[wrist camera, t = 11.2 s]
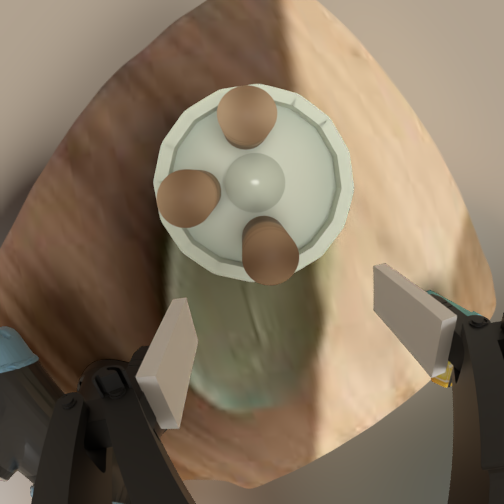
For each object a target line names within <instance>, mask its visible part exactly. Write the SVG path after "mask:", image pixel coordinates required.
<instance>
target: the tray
mask: <svg viewBox="0 0 504 504" xmlns="http://www.w3.org/2000/svg"><path fill="white" fill-rule="evenodd" d="M249 86H255V87H258V88H261V89H263V90H264V91H266V92H267V93H268V94H269V95H270V96H271V97H272V98H273V100H274V102H275V104H276V107H277V120H276V123H275V125H274V127H273V129H272V130H271V131H270V133H269V134H268V136H267V137H266V138H265V140H264V141H263V142H262V143H261V144H260V145H259V146H257V147H255V148H253V149H247V150H243V149H239V148H236V147H234V146H232V145H231V144H230V143H229V142H228V141H227V140H226V138H225V136H224V134H223V131H222V129H221V127H220V125H219V122H218V119H217V108H218V105H219V102H220V100H221V99H222V97H223V96H224V95H225V94H226V93H227V92H228V91H230V90H231V89H233V88H236V87H232V88H226V89H220V91H219V90H218V91H216V92H214V93H213V94H211V95H209V96H208V97H206V98H204V99H203V100H201V101H199V102H198V103H196V104H194V105H193V106H191V107H190V108H188V109H187V110H185V111H186V112H185V111H184V112H183V114H182V115H181V116H180V118H179V119H178V120H177V122H176V123H175V125H174V126H173V127H172V129H171V130H170V132H169V133H168V135H167V136H166V137H165V139H164V140H163V142H162V144H161V148H160V152H159V157H158V161H157V166H156V171H155V175H154V181H153V184H154V189H155V195H156V200H157V192H158V189H159V186H160V184H161V183H162V181H163V180H164V179H165V178H166V177H167V176H168V175H169V174H171V173H173V172H175V171H178V170H183V169H190V170H204V171H207V172H210V173H211V174H213V175H214V176H215V177H216V178H217V180H218V181H219V183H220V186H221V198H220V200H219V203H218V204H217V206H216V207H215V208H214V210H213V211H212V212H211V214H210V215H209V216H208V217H207V219H206V220H205V221H204V222H202V223H201V224H199V225H197V226H195V227H191V228H180V227H176V226H174V225H172V224H170V223H169V222H167V221H166V220H165V219H164V218H163V216H162V215H161V213H160V211H159V215H160V220H161V222H162V223H163V225H164V226H165V228H166V229H167V231H168V232H169V234H170V235H171V237H172V238H173V240H174V241H175V243H176V244H177V246H178V247H179V249H180V250H181V252H183V254H185V255H186V256H188V257H189V258H191V259H192V260H194V261H195V262H197V263H198V264H199V265H201V266H202V267H204V268H205V269H207V270H208V271H210V272H211V273H213V274H214V273H215V274H216V275H220V276H225V277H229V278H234V279H239V280H243V281H248V282H251V281H252V282H255V281H254V280H253V279H251V278H250V277H249V276H248V274H247V273H246V271H245V269H244V267H243V263H242V232H243V229H244V227H245V226H246V224H247V223H248V222H249V221H250V220H252V219H253V218H255V217H258V216H270V217H273V218H275V219H276V220H278V221H279V222H280V223H281V225H282V226H283V227H284V229H285V230H286V231H287V233H288V234H289V235H290V237H291V238H292V239H293V241H294V242H295V244H296V245H297V248H298V251H299V263H298V266H297V269H296V271H295V272H297V271H298V270H300V269H302V268H303V267H305V266H307V265H308V264H310V263H312V262H313V261H315V260H317V259H318V258H320V257H321V256H322V255H323V254H324V253H325V251H326V250H327V249H328V248H329V246H330V245H331V244H332V242H333V241H334V240H335V238H336V237H337V236H338V234H339V233H340V232H341V230H342V229H343V228H344V226H345V223H346V219H347V215H348V212H349V208H350V204H351V201H352V197H353V193H354V190H353V189H354V182H353V174H352V166H351V159H350V152H349V150H348V148H347V146H346V144H345V143H344V141H343V139H342V137H341V136H340V134H339V132H338V130H337V129H336V127H335V125H334V124H333V122H332V120H331V119H330V117H328V116H327V115H326V114H325V113H323V112H322V111H321V110H320V109H318V108H317V107H316V106H314V105H313V104H312V103H310V102H309V101H308V100H306V99H305V98H304V97H302V96H301V95H299V94H298V93H294V92H290V91H287V90H283V89H279V88H275V87H271V86H267V85H263V84H253V85H249ZM238 87H239V86H238ZM158 210H159V209H158ZM295 272H294V273H295Z"/></svg>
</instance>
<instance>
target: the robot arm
mask: <svg viewBox="0 0 504 504" xmlns="http://www.w3.org/2000/svg"><path fill="white" fill-rule="evenodd" d="M373 272H374V311H375V312H376V314H377V315H378V316H379V317H380V318H381V319H382V320H383V321H384V323H385V324H386V325H387V326H388V327H389V328H390V330H391V331H392V332H393V333H394V334H395V335H396V336H397V338H398V339H399V340H400V341H401V342H402V343H403V345H404V346H405V347H406V348H407V349H408V351H409V352H410V353H411V354H412V355H413V356H414V358H415V359H416V360H417V361H418V362H419V364H420V365H421V366H422V367H423V368H424V370H425V371H426V372H427V373H428V375H429V376H430V377H431V378H433V377H435V376H438V375H440V374H442V373H445V372H446V368H447V364H448V361H449V362H450V363H451V364H452V365H453V369H452V373H451V376H450V380H449V383H448V387H450V385H451V383H452V390H453V420H454V421H453V424H454V425H453V426H454V430H453V457H452V471H451V481H450V490H449V498H448V504H504V313H503V317H502V321H500V322H494V323H491V322H490V321H489V319H487V318H486V317H484V316H480V315H470V316H467V315H465V314H464V313H463V312H461V311H460V310H459V309H457V308H456V307H455V306H453V305H452V304H450V303H449V302H448V301H446V300H445V299H444V298H442V297H440V296H438V295H435V294H428V293H427V292H425V291H424V290H422V289H421V288H420V287H418V286H417V285H416V284H414V283H413V282H411V281H410V280H409V279H407V278H406V277H404V276H403V275H402V274H400V273H399V272H397V271H396V270H395V269H393V268H392V267H390V266H389V265H387V264H386V263H384V264H379V265H374V266H373ZM197 345H198V338H197V334H196V331H195V327H194V324H193V320H192V316H191V313H190V309H189V305H188V301H187V298H178V299H173V300H172V302H171V304H170V306H169V308H168V310H167V312H166V314H165V316H164V318H163V320H162V322H161V324H160V326H159V328H158V330H157V332H156V334H155V336H154V338H153V340H152V342H151V345H150V346H141V347H140V348H139V349H138V350H137V351H136V352H135V353H134V354H133V356H132V358H131V361H130V362H129V363H126V362H122V361H118V360H99V361H96V362H94V363H92V364H90V365H89V366H88V367H87V368H86V370H85V371H84V372H83V374H82V375H81V377H80V379H79V382H78V387H77V392H72V393H68V394H64V393H63V392H62V390H61V389H60V388H59V387H58V386H57V384H56V383H55V382H54V381H53V379H52V378H51V377H50V376H49V374H48V373H47V372H46V370H45V369H44V368H43V367H42V365H41V364H40V362H39V361H38V360H39V358H38V356H37V355H35V354H33V352H32V351H31V350H30V348H29V347H28V346H27V344H26V343H25V342H24V340H23V339H22V337H21V336H20V335H19V333H18V332H17V331H16V330H14V329H13V328H11V327H6V326H4V327H0V481H8V480H9V479H10V477H11V476H12V475H13V474H14V473H15V472H16V471H19V472H21V473H22V474H23V475H25V477H27V478H28V479H29V480H30V481H31V482H32V483H33V486H31V487H30V489H31V491H30V494H31V497H32V503H31V504H196V503H195V501H194V500H193V498H192V496H191V495H190V493H189V492H188V490H187V488H186V487H185V485H184V483H183V481H182V480H181V478H180V476H179V474H178V473H177V471H176V469H175V467H174V465H173V463H172V462H171V460H170V458H169V456H168V454H167V452H166V450H165V448H164V446H163V444H162V442H161V440H160V437H161V436H162V434H163V433H164V432H165V431H166V430H167V429H179V428H180V424H181V419H182V414H183V409H184V404H185V400H186V395H187V390H188V386H189V381H190V376H191V372H192V367H193V363H194V359H195V354H196V350H197Z"/></svg>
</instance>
